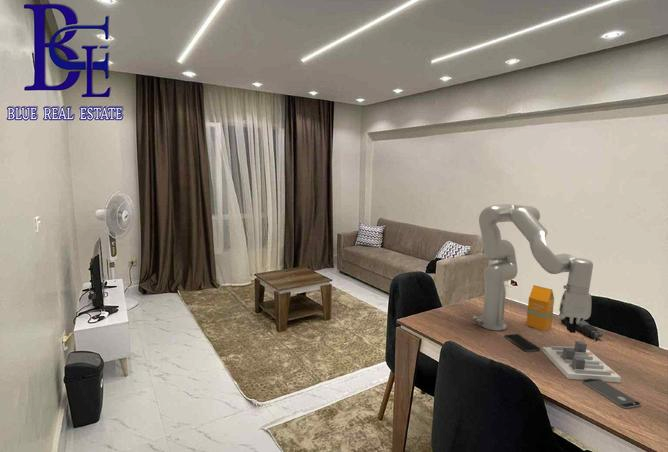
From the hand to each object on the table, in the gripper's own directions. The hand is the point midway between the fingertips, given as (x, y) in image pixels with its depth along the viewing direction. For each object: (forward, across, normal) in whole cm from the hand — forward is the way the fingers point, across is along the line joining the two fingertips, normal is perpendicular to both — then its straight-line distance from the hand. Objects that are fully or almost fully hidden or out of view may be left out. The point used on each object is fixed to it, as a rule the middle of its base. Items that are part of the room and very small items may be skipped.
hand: (571, 331), depth 149 cm
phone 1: (+12, -15, +9) cm, 21 cm away
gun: (+12, +19, +27) cm, 35 cm away
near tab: (+8, -4, -15) cm, 17 cm away
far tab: (+9, +4, -1) cm, 10 cm away
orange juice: (+12, +1, +30) cm, 32 cm away
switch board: (+11, 0, -8) cm, 13 cm away
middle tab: (+9, -4, -8) cm, 12 cm away
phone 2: (+11, +1, -26) cm, 28 cm away
